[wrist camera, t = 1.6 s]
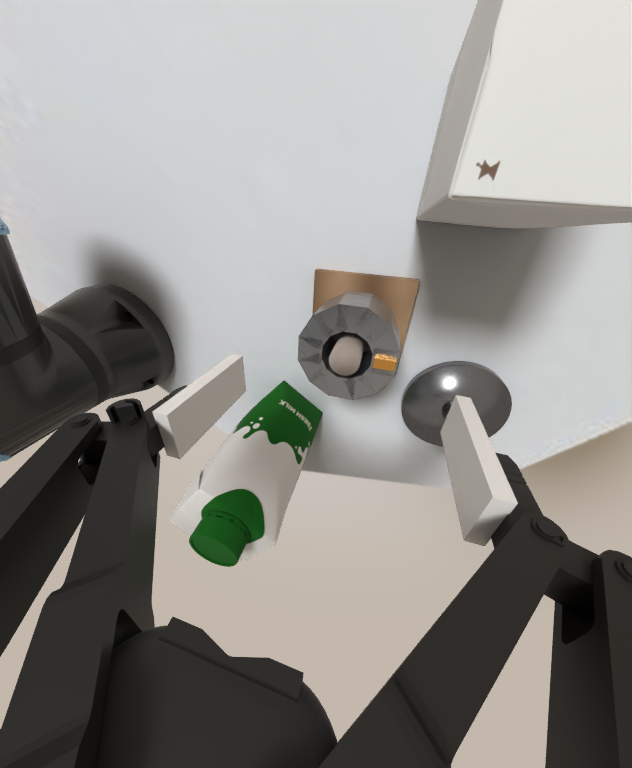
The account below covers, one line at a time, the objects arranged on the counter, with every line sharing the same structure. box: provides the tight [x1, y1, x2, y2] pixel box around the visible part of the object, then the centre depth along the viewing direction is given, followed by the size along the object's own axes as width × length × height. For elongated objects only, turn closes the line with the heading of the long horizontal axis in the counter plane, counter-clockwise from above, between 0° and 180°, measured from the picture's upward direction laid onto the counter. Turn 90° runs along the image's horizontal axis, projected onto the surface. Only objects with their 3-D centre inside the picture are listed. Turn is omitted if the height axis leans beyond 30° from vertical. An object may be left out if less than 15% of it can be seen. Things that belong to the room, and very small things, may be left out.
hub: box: [402, 361, 512, 446], centre depth 27 cm, size 11×11×8 cm
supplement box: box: [416, 0, 632, 229], centre depth 13 cm, size 9×9×15 cm
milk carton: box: [169, 381, 322, 567], centre depth 28 cm, size 9×9×20 cm
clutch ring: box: [298, 291, 401, 400], centre depth 22 cm, size 8×8×5 cm
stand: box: [313, 269, 420, 376], centre depth 24 cm, size 10×10×10 cm
